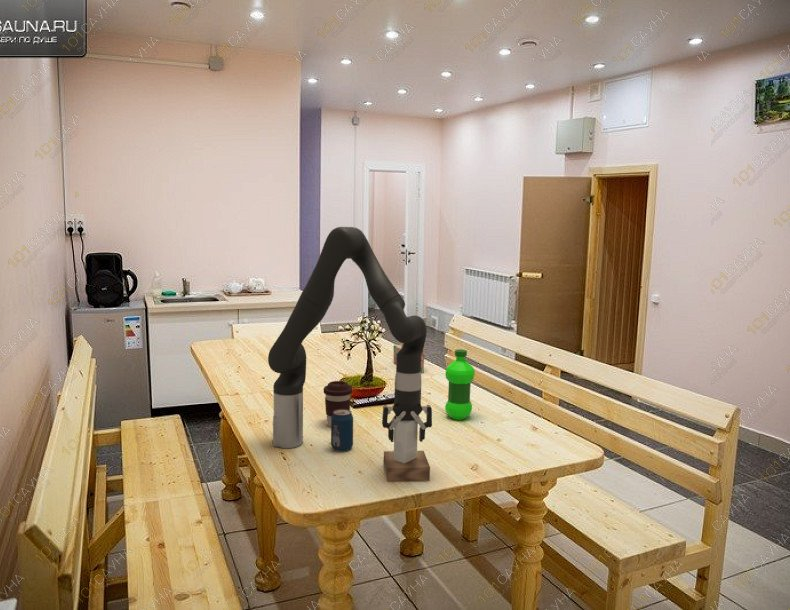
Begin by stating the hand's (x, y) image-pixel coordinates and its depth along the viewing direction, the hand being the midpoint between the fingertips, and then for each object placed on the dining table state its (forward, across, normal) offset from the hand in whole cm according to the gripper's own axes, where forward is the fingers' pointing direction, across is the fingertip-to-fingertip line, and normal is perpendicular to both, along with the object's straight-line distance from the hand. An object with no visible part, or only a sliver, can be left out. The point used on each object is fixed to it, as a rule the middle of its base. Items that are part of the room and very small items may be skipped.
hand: (406, 440), depth 181 cm
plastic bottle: (+10, +25, +46) cm, 53 cm away
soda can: (+10, -18, +19) cm, 28 cm away
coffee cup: (+10, -19, +40) cm, 45 cm away
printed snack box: (+10, +15, +115) cm, 117 cm away
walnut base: (+9, 0, 0) cm, 9 cm away
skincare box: (+6, 0, 0) cm, 6 cm away
